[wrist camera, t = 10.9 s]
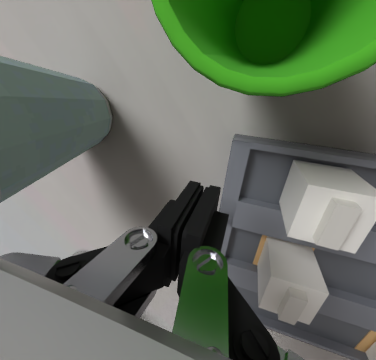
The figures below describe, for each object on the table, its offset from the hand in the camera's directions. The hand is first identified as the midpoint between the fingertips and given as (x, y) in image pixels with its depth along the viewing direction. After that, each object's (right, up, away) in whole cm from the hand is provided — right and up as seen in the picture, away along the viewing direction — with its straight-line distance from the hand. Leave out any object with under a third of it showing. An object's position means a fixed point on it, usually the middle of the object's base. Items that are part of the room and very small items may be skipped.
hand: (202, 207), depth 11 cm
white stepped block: (+9, -6, +9) cm, 14 cm away
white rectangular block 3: (+9, +1, +5) cm, 11 cm away
